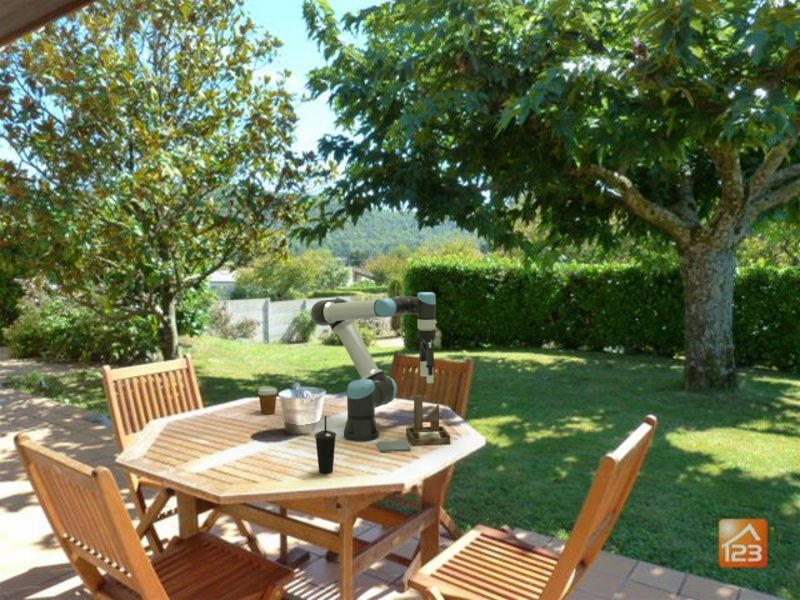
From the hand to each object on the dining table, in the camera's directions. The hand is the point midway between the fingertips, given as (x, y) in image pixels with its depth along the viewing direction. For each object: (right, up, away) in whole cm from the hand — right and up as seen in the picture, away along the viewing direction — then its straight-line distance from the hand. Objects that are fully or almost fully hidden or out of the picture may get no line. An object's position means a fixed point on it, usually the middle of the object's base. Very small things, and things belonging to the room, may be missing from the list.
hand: (426, 379), depth 245 cm
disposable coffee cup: (-76, -22, +41) cm, 89 cm away
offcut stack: (+1, -26, -5) cm, 26 cm away
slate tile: (-14, -26, -11) cm, 31 cm away
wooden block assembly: (0, -25, +2) cm, 25 cm away
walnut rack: (0, -25, -1) cm, 25 cm away
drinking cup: (-38, -28, -38) cm, 60 cm away
